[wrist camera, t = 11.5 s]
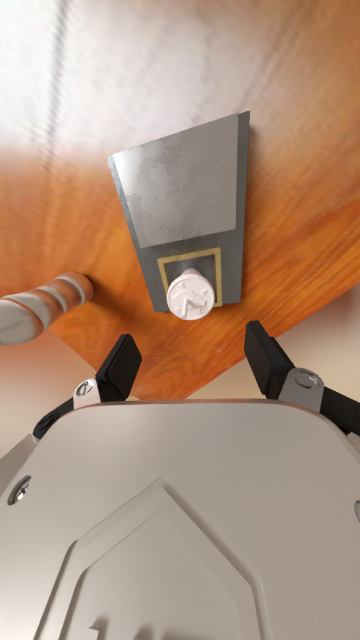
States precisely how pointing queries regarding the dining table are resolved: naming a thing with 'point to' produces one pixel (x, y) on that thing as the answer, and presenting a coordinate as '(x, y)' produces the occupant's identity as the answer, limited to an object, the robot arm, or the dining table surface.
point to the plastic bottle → (41, 307)
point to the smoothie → (190, 295)
